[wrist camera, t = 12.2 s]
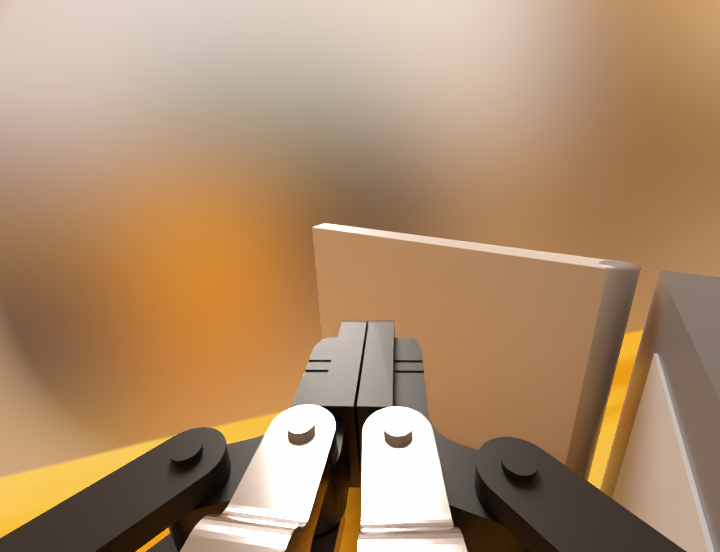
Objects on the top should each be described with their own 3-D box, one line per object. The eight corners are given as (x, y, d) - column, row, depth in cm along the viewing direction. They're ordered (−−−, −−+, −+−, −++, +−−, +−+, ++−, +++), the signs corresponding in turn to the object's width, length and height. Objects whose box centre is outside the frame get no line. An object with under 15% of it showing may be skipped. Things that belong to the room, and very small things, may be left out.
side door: (578, 521, 19) (640, 274, 14) (326, 401, 28) (311, 227, 23) (583, 491, 20) (640, 259, 15) (342, 387, 30) (331, 220, 25)
